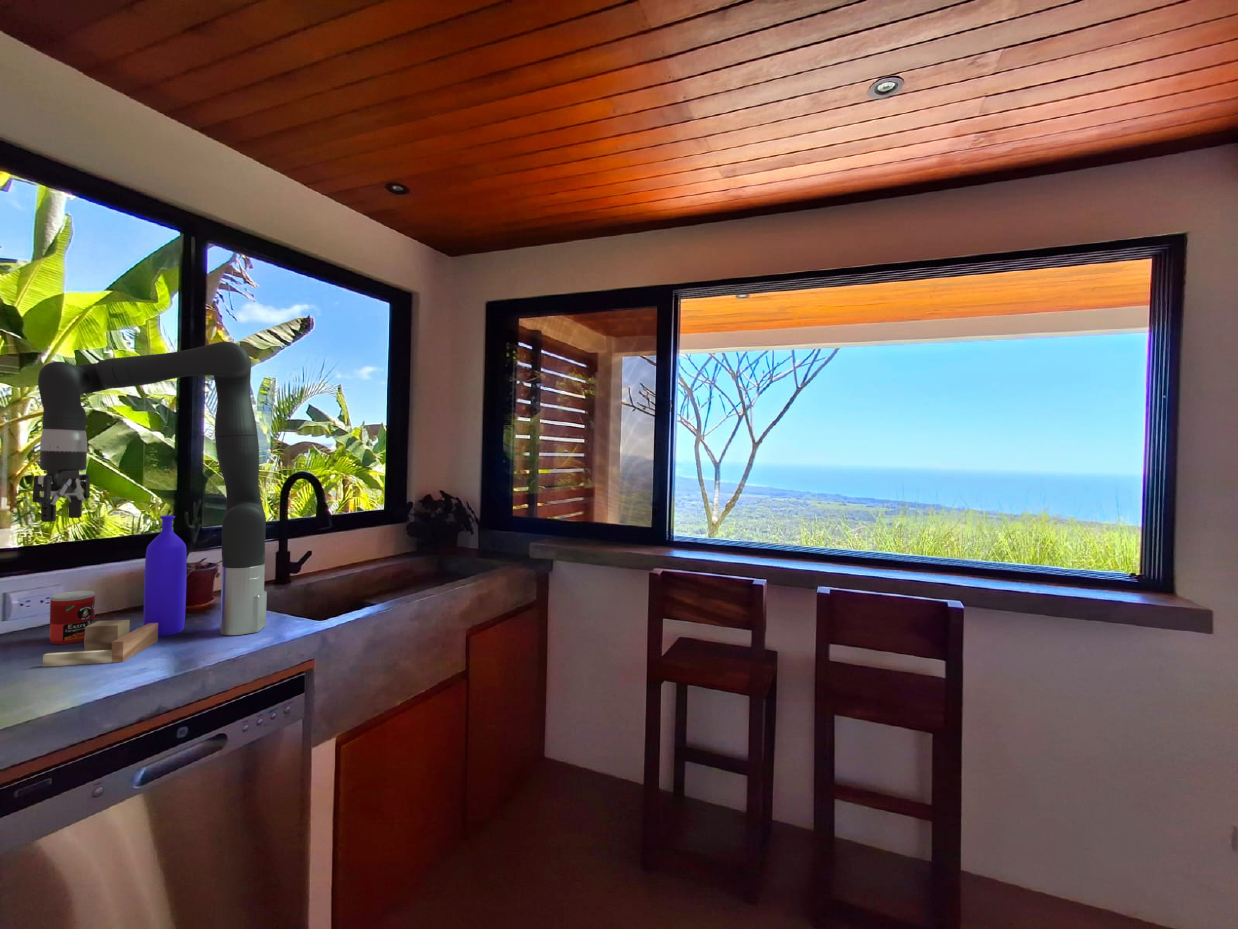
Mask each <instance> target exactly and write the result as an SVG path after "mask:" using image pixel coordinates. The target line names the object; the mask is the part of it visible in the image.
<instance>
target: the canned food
mask: <svg viewBox="0 0 1238 929" xmlns="http://www.w3.org/2000/svg"><path fill="white" fill-rule="evenodd" d="M49 603H50V605H49V641H50V643H51V644H53V645H67V644H76V643H80V642H84V639H85V627H86V626H88V625H91V624H93V623H95V612H96V611H95V610H96V606H95V605H96V592H95V591H92V590H77V591H76V590H75V591H68V592H61V593H57V594H54V595H51V596H50V602H49Z"/></svg>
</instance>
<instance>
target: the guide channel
mask: <svg viewBox="0 0 1238 929" xmlns="http://www.w3.org/2000/svg"><path fill="white" fill-rule="evenodd" d="M158 639H159V637H158V623H148V624H146V625H144V624H143V625H142V626H141V627H139V628H136V629H135V630H132V631H129V634H127V635H125V636H123V637H121V638H119V639H117V640H115V641H113V642H112V650H98V651H84V650H83V651H65V652H64V651H63V652H48V653H47V652H46V653H45V654H42V667H45V668H46V667H58V666H59V667H60V666H73V665H75V666H76V665H78V666H79V665H91V664H93V665H94V664H108V663H123V662H125V661H127V660H128V659H130V658H132V657H133V656H135V655H137V654H138V653H140V652H142V651H144V650H145V649H147V648H149V647H150V646H152V645H153V644H156V643H157V642H158V641H159V640H158ZM83 644H84V647H85V639H84V641H83Z"/></svg>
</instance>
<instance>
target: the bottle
mask: <svg viewBox="0 0 1238 929" xmlns="http://www.w3.org/2000/svg"><path fill="white" fill-rule="evenodd" d="M159 518H160V519H161V520H162V528H161V532H160V533H159V534H158V535H157V536H155V537H154V539H153V540H152V541H151V542H150V543H149V544H148V545H147V547H146V552H145V560H144V561H145V562H144V581H143V582H144V583H143V585H144V586H143V587H144V588H143V626H144V625H146V624H148V623H158V638H159V637H167V636H171V635H175V634H179V633H181V632H182V631H183V630H184V628H185V624H186V623H185V622H186V602H187V570H188V568H187V563H188V561H187V560H188V559H187V558H188V557H187V556H188V555H187V545H186V543H185V542H184V540H183V539H182V538H180V536H178V535H177V534H176V533H175V532H174V530H173V520H174V519H175V518H176V515H160V516H159Z"/></svg>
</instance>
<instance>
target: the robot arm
mask: <svg viewBox="0 0 1238 929" xmlns="http://www.w3.org/2000/svg"><path fill="white" fill-rule="evenodd" d="M251 374H252V359H251V358H250V355H249V354H248V352H247V351H246V350H245V349H244V348H243V347H242V346H241V345H239V344H237V343H235V342H232V341H227V340H224V341H218V342H214V343H211V344H207V345H203V346H198V347H194V348H190V349H184V350H178V351H172V352H166V353H165V352H163V353H154V354H143V355H142V354H141V355H133V356H132V355H131V356H130V355H129V356H121V357H113V358H105V359H100V360H99V361H97V362H96V363H95V362H94V363H87V364H72V363H68V362H65V361H51V362H49V363H46V364H45V365H43V366H42V367H41V369H40V370H39V373H38V378H37V385H38V391H39V396H40V401H41V404H42V407H43V408H42V409H43V412H42V431H41V436H40V441H39V442H40V446H39V469H40V470H42V471H46V475H35V476H34V477H33V487H32V499H31V500H32V502H33V503H34V504H35V503H37V504H38V505H40V507H41V508H40V520H41V522H42V523H52V522H53V523H54V522H55V521H56V519H57V518H56V516H57V515H56V514H57V505H56V504H57V503H58V501H59V499H60V498H62V497H63V496H66V497H67V499H68V501H69V502H68V506H67V507H68V509H67V510H68V512H67V514H68V515H67V517H68V518H69V519H80V518H82V517H83V512H82V511H83V502H85V500H86V499H90V498H91V496H90V495H91V494H90V487H91V486H90V483H91V482H90V474H87V473H80V471H86V469H87V459H88V458H87V454H88V439H87V432H86V430H87V412H86V410H85V408H84V407H83V406H82V403H81V402H82V401H81V400H82V399H81V395H86V394H88V395H89V394H92V393H97V392H98V393H99V392H102V391H106V390H111V389H123V388H130V387H131V388H132V387H141V386H145V385H152V384H156V383H162V382H165V381H169V380H173V379H179V378H184V377H195V376H213V380H214V383H215V384H214V385H215V390H216V397H217V403H216V412H215V419H214V441H215V450H216V457H217V460H218V465H219V469H220V472H221V475H222V479H223V482H224V486H225V496H226V497H225V499H226V501H225V502H226V504H225V507H226V508H225V515H224V517H223V519H222V522H221V524H222V525H221V562H222V563H221V587H220V588H221V593H220V594H221V596H220V624H219V625H220V632H219V633H220V635H224V636H240V635H247V634H252V633H259V632H260V631H261V630H262V629H263V628H265V627H266V626H267V625H266V624H267V601H268V600H267V598H268V597H267V596H268V595H267V594H268V592H267V591H266V590H265V568H266V566H265V565H266V564H265V563H266V529H267V528H266V524H267V516H266V513H265V509H264V506H263V502H262V498H261V497H262V496H261V492H260V486H259V485H260V482H259V477H260V476H259V475H260V445H259V434H258V428H257V421H256V416H255V410H254V409H253V403H252V398H251V379H252V378H251V377H252V376H251ZM40 494H41V496H40Z"/></svg>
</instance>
